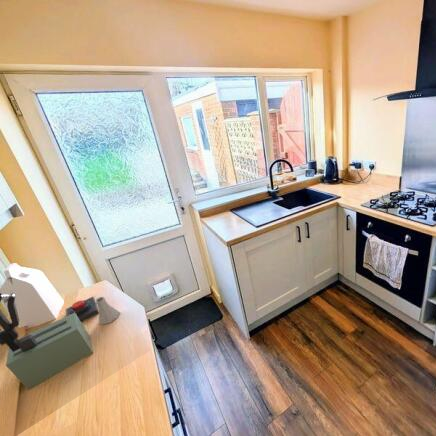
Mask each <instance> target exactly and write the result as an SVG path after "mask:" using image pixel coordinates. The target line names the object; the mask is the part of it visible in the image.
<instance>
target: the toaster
mask: <svg viewBox="0 0 436 436" xmlns="http://www.w3.org/2000/svg"><path fill="white" fill-rule="evenodd" d="M29 334H31V335H32V336H33V337H34V339H35V340H36V341H37V344H36V346H35V347H33V348H31V349H29V350H27V351H25V352H23V351H22V350H21V349H18V350H16V351H14V352H13V351H12V350H11V349H10V348H9V347H8V351H7V356H6V362H5V366H6V368H8V369H9V371H10V372H11V373H12V374H13V375H14V376H15V377H16V378H17V379H18V380H19V382H20V383H21V384H22V385H23V386H24V387H25V388H26V389H27V390H28V391H29V390H31V389H33V388H34V387H36V386H38V385H40V384H42V383H44V382H45V381H48V380H49V379H50V378H52V377H54V376H56V375H57V374H59V373H61V372H62V371H64V370H66V369H67V368H70V367H71V366H74V365H75V364H76V363H78V362H80V361H82V360H84V359H85V358H87V357H89V356H91V355H92V354H94V349H93V346H92V342H91V336H90V334H89V332H88V331H87V329H86V327H85V326H84V324H83V323H82V322H81V321H80V320H79V318H78V317H77V315H76V313H73V314H71V315H68V316H64V317H62V318H60V319H58V320H56V321H54V322H52V323H49V324H47V325H45V326H43V327H41V328H38V329H37V330H35V331H33V332H30V333H28V334H26V335H23V336H22V337H19V338H17V340H19V339H21V338H23V337H25V336H27V335H29Z"/></svg>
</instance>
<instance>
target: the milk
mask: <svg viewBox="0 0 436 436" xmlns="http://www.w3.org/2000/svg"><path fill="white" fill-rule="evenodd" d="M3 273H4V276H5V278H6V279H5V280H4V282H3V283H2V285H1V287H0V293H1V294H2V295H10V294H12V293H15V294H16V296H15V300H14V301H15V305H16V309H17V313H18V316H19V325H18V326H17V327H18V328H19V329H20V328H23V327H25V330H28V329H31V328H34V327H37V326H39V325H42V324H46V323H49V322H51V321H54V320H57V318H58V316H59V314H60V312H61V310H62V308H63V305H64V304H65V300H64V299H63V298H62V296H61V295H60V294H59V292H58V291H57V289H56V288H55V286H53V284H52V283H51V282H50V280H49V279H48V277H47V276H46V275H45V273H44V272H43V271H42V270H40V269H36V268H32V267H25V266H21V265H19V264H18V263H16V262H13V263H10V264H9V265H8V266H7V267H6V268H5V269H4V270H3ZM1 303H2V305H4V307H5V309H6V311H7V312H8V313H9V311H8V307H7V303H5V302H4V300H1Z"/></svg>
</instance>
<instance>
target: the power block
mask: <svg viewBox="0 0 436 436" xmlns="http://www.w3.org/2000/svg"><path fill="white" fill-rule="evenodd" d="M95 300H96V299H95V297H94V296H91V297H89V298H87V299H84V300H83V301H84V303H85V306H83V307H82V308H80V309H78V310H74V309H73V308H72V306H70V307H67V308H66V309H65V314H66V316H68V315H71V314H73V313H76V315H77V317H78V318H79V320H80V321H81V323H82V322H84V321H86V320H88V319H90V318H92V317H95V316H96V315H99V308H98V304H97V303H96V302H95ZM66 316H65V317H66Z"/></svg>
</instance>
